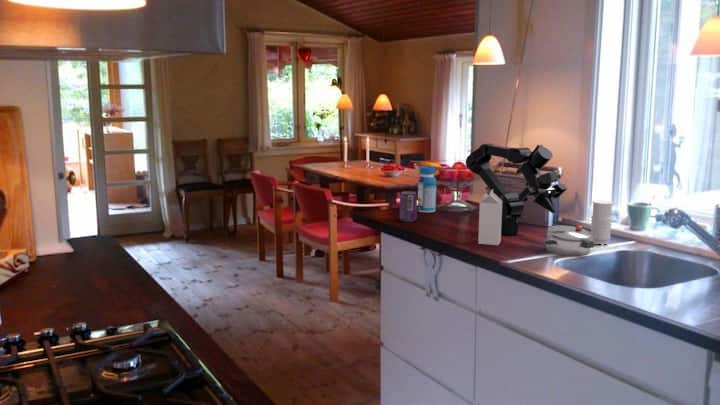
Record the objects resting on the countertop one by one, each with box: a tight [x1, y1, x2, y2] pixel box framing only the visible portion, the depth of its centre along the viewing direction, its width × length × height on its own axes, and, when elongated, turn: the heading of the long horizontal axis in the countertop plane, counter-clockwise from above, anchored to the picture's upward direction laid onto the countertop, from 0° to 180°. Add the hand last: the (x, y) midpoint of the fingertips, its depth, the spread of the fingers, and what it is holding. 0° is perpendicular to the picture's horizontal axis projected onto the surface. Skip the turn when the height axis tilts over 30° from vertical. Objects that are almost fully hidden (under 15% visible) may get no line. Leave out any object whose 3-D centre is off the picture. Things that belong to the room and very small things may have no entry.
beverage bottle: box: [417, 165, 438, 213], centre depth 289 cm, size 8×8×20 cm
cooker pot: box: [544, 233, 595, 257], centre depth 218 cm, size 16×20×5 cm
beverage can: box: [399, 190, 418, 223], centre depth 268 cm, size 7×7×12 cm
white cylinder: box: [590, 199, 614, 245], centre depth 229 cm, size 7×7×15 cm
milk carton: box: [477, 189, 502, 246], centre depth 229 cm, size 7×7×19 cm
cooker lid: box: [546, 224, 592, 241], centre depth 218 cm, size 14×14×2 cm
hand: (554, 212), depth 223 cm, fingers closed
